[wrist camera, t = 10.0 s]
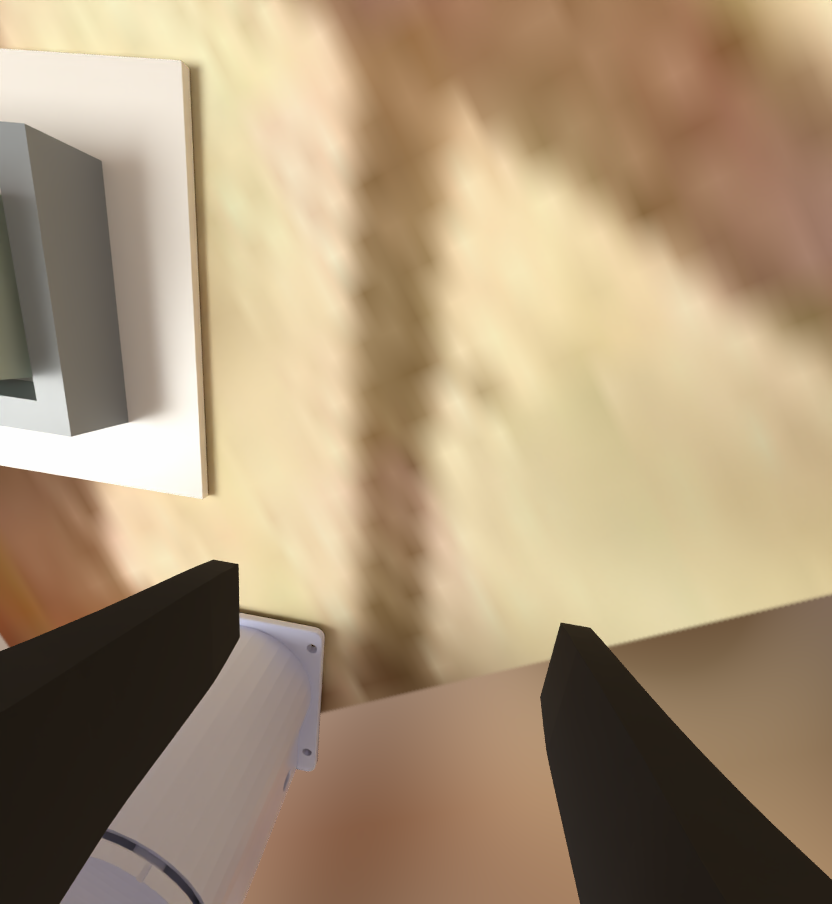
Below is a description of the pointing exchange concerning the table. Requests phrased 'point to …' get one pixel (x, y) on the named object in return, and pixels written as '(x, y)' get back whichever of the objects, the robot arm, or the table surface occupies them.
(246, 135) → the table surface
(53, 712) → the robot arm
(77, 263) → the slot holder
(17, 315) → the key block
